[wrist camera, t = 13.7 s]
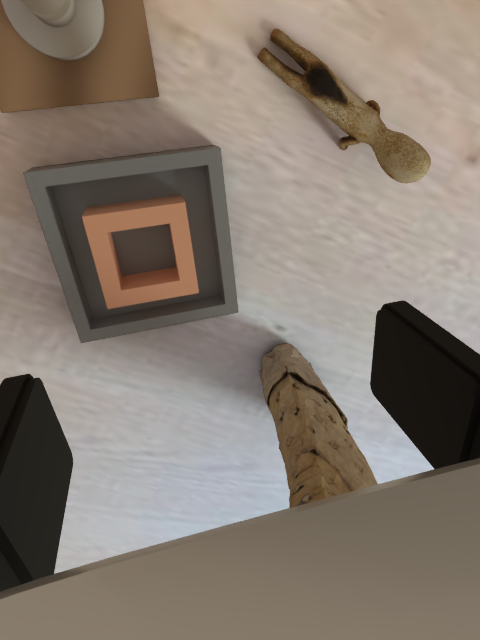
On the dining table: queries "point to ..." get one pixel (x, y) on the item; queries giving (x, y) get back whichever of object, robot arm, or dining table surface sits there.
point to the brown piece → (73, 53)
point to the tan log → (310, 430)
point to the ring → (148, 283)
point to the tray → (137, 235)
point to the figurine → (349, 111)
